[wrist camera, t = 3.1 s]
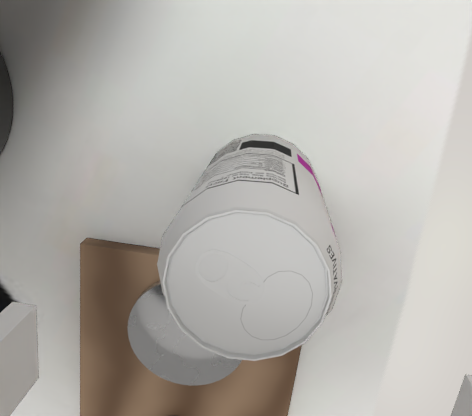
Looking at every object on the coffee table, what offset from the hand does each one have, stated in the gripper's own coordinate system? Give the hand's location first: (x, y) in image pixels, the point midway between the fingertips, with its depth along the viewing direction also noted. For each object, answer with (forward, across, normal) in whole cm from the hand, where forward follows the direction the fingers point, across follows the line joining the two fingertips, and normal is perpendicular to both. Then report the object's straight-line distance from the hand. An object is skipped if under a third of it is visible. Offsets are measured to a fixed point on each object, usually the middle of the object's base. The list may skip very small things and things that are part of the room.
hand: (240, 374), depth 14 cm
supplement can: (+20, 0, 0) cm, 20 cm away
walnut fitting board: (+20, -4, -18) cm, 27 cm away
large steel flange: (+19, -4, -12) cm, 23 cm away
